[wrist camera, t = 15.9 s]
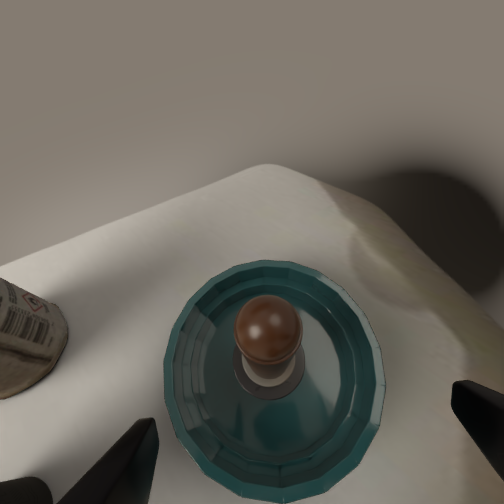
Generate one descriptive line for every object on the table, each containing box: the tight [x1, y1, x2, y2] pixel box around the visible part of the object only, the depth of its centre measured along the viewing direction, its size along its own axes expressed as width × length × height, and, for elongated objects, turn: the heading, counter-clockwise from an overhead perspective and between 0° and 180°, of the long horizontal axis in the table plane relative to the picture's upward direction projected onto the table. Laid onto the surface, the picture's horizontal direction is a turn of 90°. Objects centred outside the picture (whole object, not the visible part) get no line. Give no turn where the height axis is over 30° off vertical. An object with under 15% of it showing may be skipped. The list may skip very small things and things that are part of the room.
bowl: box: [163, 260, 386, 504], centre depth 18 cm, size 14×14×4 cm
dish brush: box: [233, 295, 305, 400], centre depth 14 cm, size 5×5×12 cm
